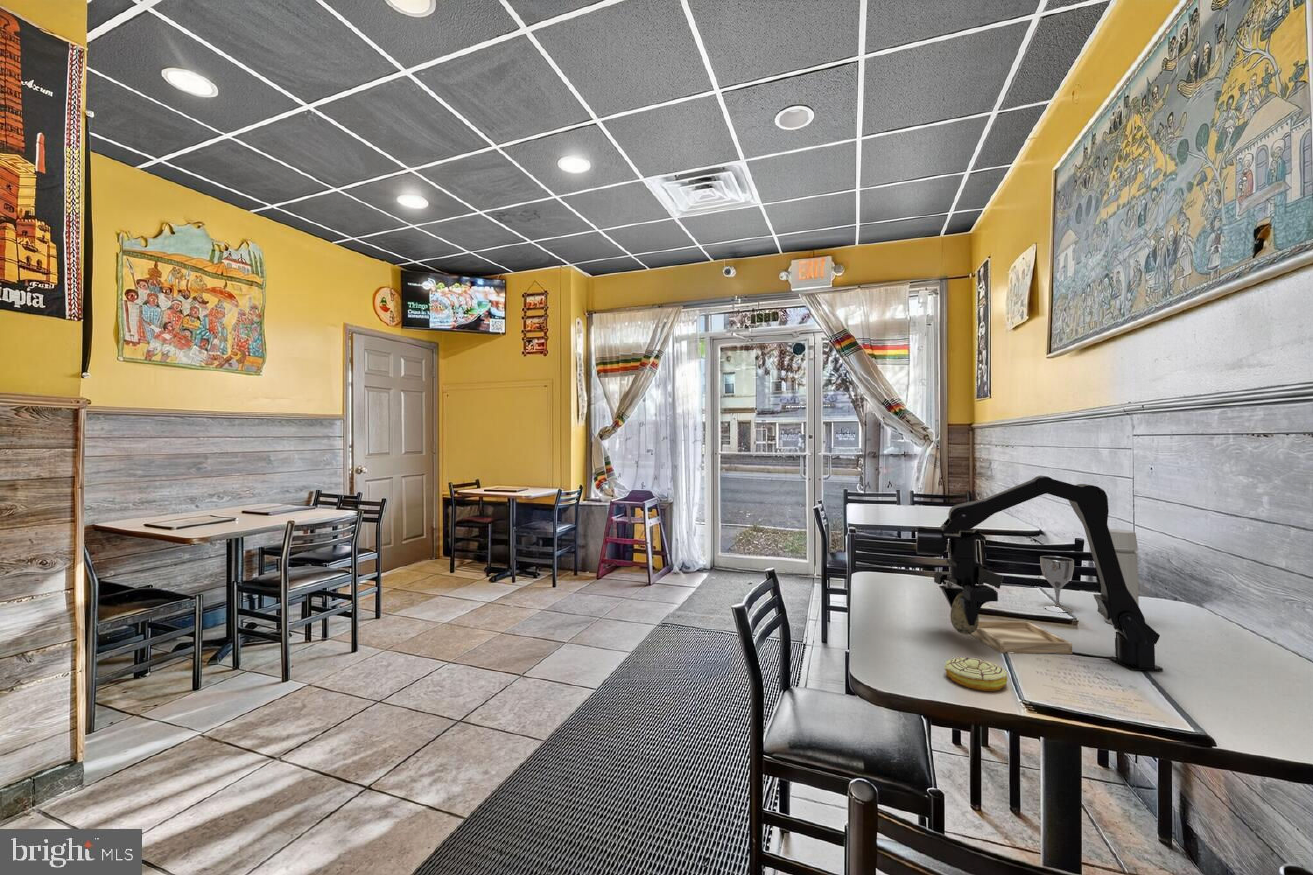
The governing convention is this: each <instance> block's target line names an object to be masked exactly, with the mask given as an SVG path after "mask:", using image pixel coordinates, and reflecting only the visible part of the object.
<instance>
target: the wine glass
mask: <svg viewBox="0 0 1313 875" xmlns="http://www.w3.org/2000/svg"><path fill="white" fill-rule="evenodd" d="M1039 560H1040V561H1039V562H1040V569H1041V573H1042V576H1043V577H1044V579H1045V580H1046V581H1047V582H1048V583H1049V584H1050V585H1051V586H1052V587H1053V588H1052V589H1053V590H1054V593H1055V594H1054V595H1055V604H1054V605H1053V606H1055V607H1059V608H1061V609H1062V610H1063V611H1067V612H1068V613H1067V614H1072V613H1073V612H1074V611H1073V610H1072V609H1071V608H1067V607H1064V606H1061V604H1060V594H1061V590H1062V588H1063V587H1064V586H1066V585H1067V584H1068V583H1069V582H1070V581H1071V580H1072V578H1073V574H1074V570H1075V560H1074V559H1073V558H1069V557H1065V556H1059V555H1058V556H1057V555H1040V557H1039Z"/></svg>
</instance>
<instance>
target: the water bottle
mask: <svg viewBox="0 0 1313 875" xmlns="http://www.w3.org/2000/svg"><path fill="white" fill-rule="evenodd" d="M1109 532H1110V535H1111V538H1112V542H1113V545H1114V548H1115V551H1116V555H1117V558H1118V561H1119V565H1120V568H1121V571H1122V574H1123V578H1124V581H1125V584H1126V587H1127V589H1128V591H1129V592H1130V594H1131V595H1132V597H1133V598H1134V600H1135V601H1136V603H1137V604H1138V606H1139V605H1140V604H1139V571H1138V569H1139V566H1138V565H1139V564H1138V553H1137V552H1138V551H1139V548H1138V540H1137V535H1136V534H1137V532H1135V531H1133V530H1127V529H1125V530H1124V529H1114V528H1113V529H1111V528H1109ZM1139 607H1140V606H1139ZM1103 619H1104V620H1105V621H1106V622H1107V623H1108V624H1110V625H1112V624H1111V623H1110V622H1109V621H1108V620H1106V619H1105V618H1104V617H1103Z"/></svg>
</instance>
